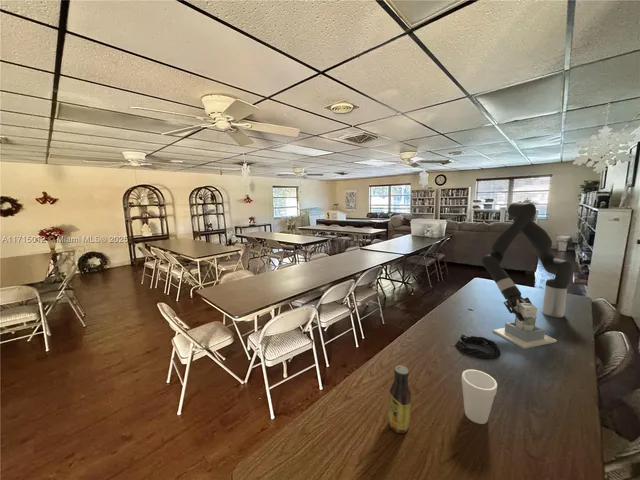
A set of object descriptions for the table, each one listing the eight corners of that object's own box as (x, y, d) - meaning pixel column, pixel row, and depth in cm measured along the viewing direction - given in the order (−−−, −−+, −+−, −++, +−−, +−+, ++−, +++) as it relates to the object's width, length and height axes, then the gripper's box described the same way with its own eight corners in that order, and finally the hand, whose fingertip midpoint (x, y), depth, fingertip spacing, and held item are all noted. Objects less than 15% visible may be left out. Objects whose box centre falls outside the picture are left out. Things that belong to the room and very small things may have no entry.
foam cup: (480, 432, 77) (483, 394, 74) (453, 409, 85) (455, 374, 83) (500, 421, 80) (504, 384, 78) (472, 400, 89) (475, 366, 87)
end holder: (523, 326, 138) (524, 316, 137) (556, 342, 122) (558, 331, 122) (493, 331, 133) (493, 321, 132) (524, 348, 118) (525, 337, 117)
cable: (504, 352, 116) (505, 343, 115) (494, 366, 107) (495, 356, 106) (463, 337, 128) (464, 329, 128) (451, 348, 120) (452, 340, 119)
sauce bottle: (385, 418, 82) (386, 362, 79) (404, 416, 83) (406, 360, 80) (392, 436, 76) (394, 376, 73) (413, 434, 76) (415, 374, 73)
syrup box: (525, 329, 130) (529, 302, 128) (534, 335, 124) (537, 307, 122) (513, 329, 131) (516, 302, 128) (521, 335, 125) (524, 307, 123)
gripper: (502, 287, 129) (523, 319, 120) (524, 284, 133) (546, 315, 124) (492, 293, 135) (511, 324, 126) (513, 290, 139) (533, 320, 130)
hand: (528, 319), depth 125 cm, fingers closed on syrup box, 7 cm apart
